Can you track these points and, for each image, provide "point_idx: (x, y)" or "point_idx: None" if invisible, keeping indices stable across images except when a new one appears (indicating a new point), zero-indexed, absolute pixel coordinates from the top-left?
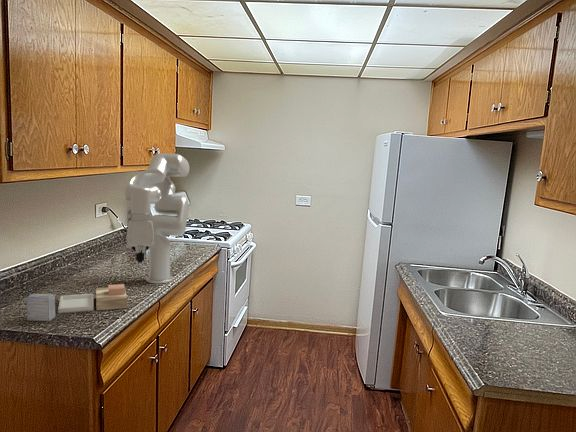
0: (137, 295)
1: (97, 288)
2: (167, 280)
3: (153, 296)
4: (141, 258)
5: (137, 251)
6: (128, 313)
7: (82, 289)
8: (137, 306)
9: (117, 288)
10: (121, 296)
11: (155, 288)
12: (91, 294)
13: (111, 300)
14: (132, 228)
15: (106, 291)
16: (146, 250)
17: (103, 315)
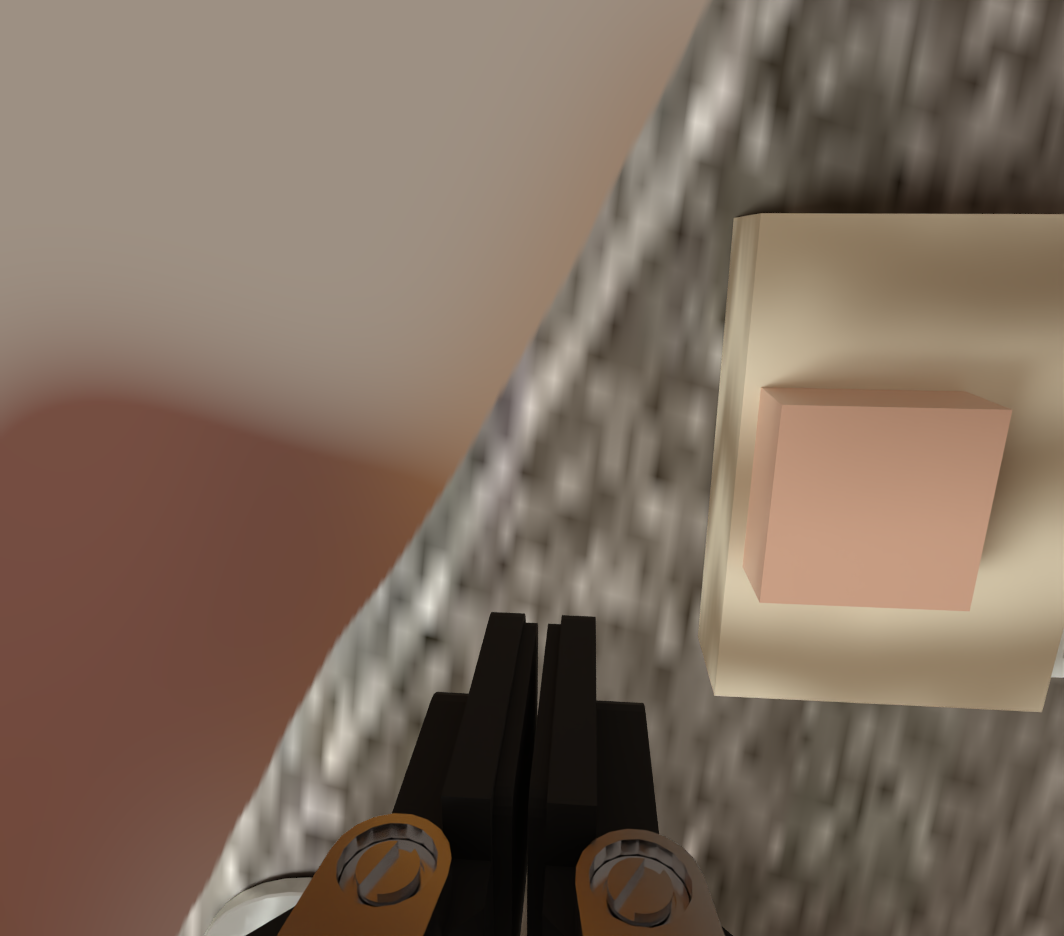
0: (571, 608)
1: (1028, 702)
2: (248, 906)
3: (417, 535)
4: (504, 675)
5: (636, 904)
6: (749, 6)
7: (1049, 914)
8: (615, 244)
9: (885, 422)
10: (819, 306)
11: (379, 766)
12: (1062, 654)
13: (960, 214)
14: None
15: None
16: (256, 932)
17: (1040, 9)
